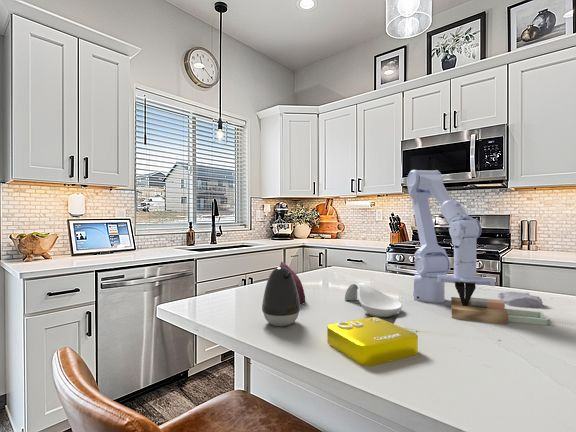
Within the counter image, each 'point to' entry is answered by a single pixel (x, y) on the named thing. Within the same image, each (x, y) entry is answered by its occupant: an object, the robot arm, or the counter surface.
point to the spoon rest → (373, 300)
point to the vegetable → (298, 284)
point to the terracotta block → (496, 304)
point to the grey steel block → (478, 302)
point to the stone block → (520, 299)
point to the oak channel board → (477, 313)
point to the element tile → (372, 340)
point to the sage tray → (542, 321)
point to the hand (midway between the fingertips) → (464, 309)
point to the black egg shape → (281, 298)
